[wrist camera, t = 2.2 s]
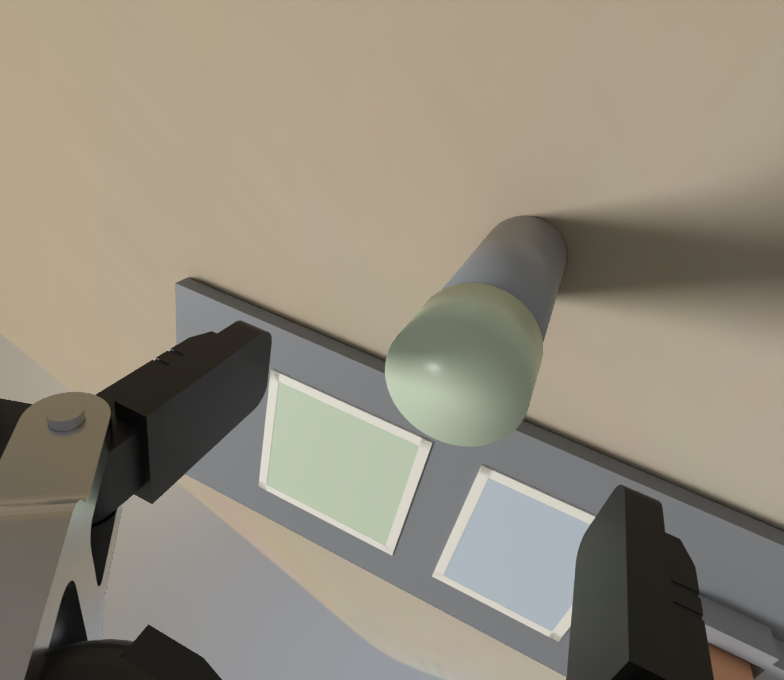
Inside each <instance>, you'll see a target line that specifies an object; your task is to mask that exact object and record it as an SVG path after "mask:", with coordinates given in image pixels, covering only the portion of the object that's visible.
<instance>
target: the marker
mask: <svg viewBox="0 0 784 680" xmlns="http://www.w3.org/2000/svg"><path fill="white" fill-rule="evenodd" d="M566 262H567V250H566V246H565V243H564V240H563V238H562V237H561V235H560V233H559V232H558V231H557V230H556V229H555V228H554V227H553V226H552V225H551V224H549V223H548V222H546V221H544V220H542V219H540V218H536V217H532V216H517V217H513V218H509V219H507V220H505V221H503V222H501V223H500V224H498V225H497V226H496V227H495V228H494V229H493V230H492V231H491V232H490V233H489V234H488V236H487V237H486V238H485V239H484V240H483V242H482V243H481V244H480V245H479V246H478V247H477V249H476V250H475V251H474V252H473V253H472V255H471V256H470V257H469V258H468V259H467V260H466V262H465V263H464V264H463V265H462V266H461V268H460V269H459V270H458V271H457V272H456V274H455V275H454V276H453V277H452V278H451V279H450V281H449V282H448V283H447V284H446V285H445V287H444V288H443V289H442V290H441V291H439V292H438V293H437V294H435V295H434V296H433V297H431V298H430V299H429V300H428V301H427V303H426V304H425V305H424V306H423V307H422V308H421V310H420V311H419V312H418V313H417V314H416V315H415V316H414V318H413V319H412V320H411V321H410V322H409V323H408V325H407V326H406V327H405V328H404V329H403V330H402V331H401V333H400V334H399V335H398V336H397V337H396V339H395V340H394V341H393V343H392V345H391V347H390V349H389V351H388V354H387V357H386V362H385V378H386V384H387V388H388V391H389V393H390V396H391V398H392V400H393V402H394V404H395V405H396V407H397V408H398V410H399V411H400V412H401V414H402V415H403V416H404V417H405V418H406V419H407V420H408V421H409V422H410V423H411V424H412V425H413V426H415V427H416V428H417V429H418V430H420V431H421V432H423V433H424V434H426V435H428V436H430V437H432V438H434V439H436V440H439V441H441V442H444V443H448V444H451V445H456V446H465V447H476V446H484V445H488V444H492V443H495V442H497V441H500V440H502V439H504V438H505V437H507V436H508V435H510V434H511V433H512V432H513V431H514V430H515V429H516V428H517V427H518V426H519V425H520V424H521V422H522V420H523V419H524V417H525V415H526V413H527V410H528V407H529V403H530V400H531V396H532V393H533V389H534V386H535V382H536V379H537V375H538V371H539V368H540V364H541V360H542V356H543V341H544V338H545V334H546V331H547V328H548V324H549V321H550V317H551V314H552V311H553V307H554V304H555V300H556V297H557V294H558V290H559V287H560V283H561V280H562V277H563V273H564V270H565V267H566Z"/></svg>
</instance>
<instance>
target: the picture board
mask: <svg viewBox="0 0 784 680" xmlns="http://www.w3.org/2000/svg"><path fill="white" fill-rule="evenodd" d="M175 285H176V335H177V345H178V344H179V343H181V342H182V341H184V340H186V339H187V338H189V337H193V336H196V335H200V334H204V333H207V332H211V331H213V332H215V333H219V332H220V331H222V330H223V329H225V328H227V327H228V326H230V325H231V324H233V323H234V322H236V321H239V320H241V321H244V322H246V323H249V324H251V325H253V326H256V327H258V328H260V329H263V330H265V331H267V332H269V333H270V334H271V336H272V345H271V355H270V365H269V374H268V383H267V388H266V391H265V394H264V396H263V398H262V400H261V402H260V403H259V405H258V406H257V407H256V408H255V409H254V410H253V411H252V412H251V413H250V414H249V415H248V416H247V417H246V418H245V419H244V420H242V421H241V422H240V423H239V424H238V425H237V426H236V427H235V428H234V429H233V430H232V431H231V432H229V433H228V434H227V435H226V436H225V437H224V438H223V439H222V440H221V441H220V442H219V443H218V444H217V445H215V446H214V447H213V448H212V449H211V450H210V451H209V452H208V453H207V454H206V455H205V456H204V457H202V458H201V459H200V460H199V461H198V462H197V463H196V464H195V465H194V466H193V467H192V468H191V469H190V470H188V471H187V472H186V473H185V474H186V475H188V476H190V477H192V478H194V479H195V480H197V481H199V482H201V483H203V484H205V485H207V486H209V487H210V488H212V489H214V490H216V491H218V492H220V493H222V494H224V495H225V496H227V497H229V498H231V499H233V500H235V501H237V502H239V503H241V504H242V505H244V506H246V507H248V508H250V509H252V510H254V511H256V512H257V513H259V514H261V515H263V516H265V517H267V518H269V519H271V520H272V521H274V522H276V523H278V524H280V525H282V526H284V527H286V528H287V529H289V530H291V531H293V532H295V533H297V534H299V535H301V536H303V537H304V538H306V539H308V540H310V541H312V542H314V543H316V544H318V545H319V546H321V547H323V548H325V549H327V550H329V551H331V552H333V553H334V554H336V555H338V556H340V557H342V558H344V559H346V560H348V561H349V562H351V563H353V564H355V565H357V566H359V567H361V568H363V569H365V570H366V571H368V572H370V573H372V574H374V575H376V576H378V577H380V578H381V579H383V580H385V581H387V582H389V583H391V584H393V585H395V586H396V587H398V588H400V589H402V590H404V591H406V592H408V593H410V594H411V595H413V596H415V597H417V598H419V599H421V600H423V601H425V602H427V603H428V604H430V605H432V606H434V607H436V608H438V609H440V610H442V611H443V612H445V613H447V614H449V615H451V616H453V617H455V618H457V619H458V620H460V621H462V622H464V623H466V624H468V625H470V626H472V627H473V628H475V629H477V630H479V631H481V632H483V633H485V634H487V635H488V636H490V637H492V638H494V639H496V640H498V641H500V642H502V643H504V644H505V645H507V646H509V647H511V648H513V649H515V650H517V651H519V652H520V653H522V654H524V655H526V656H528V657H530V658H532V659H534V660H535V661H537V662H539V663H541V664H543V665H545V666H547V667H549V668H550V669H552V670H554V671H556V672H558V673H560V674H562V675H564V676H566V677H567V665H568V653H569V640H570V628H571V615H572V603H573V590H574V578H575V565H576V557H577V552H578V549H579V546H580V543H581V540H582V538H583V536H584V534H585V532H586V530H587V529H588V527H589V526H590V524H591V523H592V521H593V520H594V518H595V517H596V515H597V514H598V512H599V511H600V510H601V508H602V507H603V505H604V504H605V502H606V501H607V499H608V498H609V496H610V495H611V493H612V492H613V490H614V489H615V488H616V487H617V486H618V485H624V486H626V487H628V488H631V489H633V490H635V491H638V492H640V493H642V494H645V495H647V496H649V497H652V498H654V499H656V500H659V501H660V502H661V504H662V508H663V516H664V525H665V532H666V533H668V534H670V535H673V536H675V537H677V538H679V539H681V541H682V543H683V545H684V547H685V548H686V550H687V552H688V554H689V556H690V558H691V559H692V561H693V563H694V565H695V567H696V573H697V579H698V585H699V591H700V593H699V596H698V597H699V598H701V604H702V610H703V616H702V620H704V622H705V628H706V634H707V640H708V643H709V644H711V645H713V646H715V647H717V648H719V649H721V650H723V651H725V652H727V653H729V654H732V655H734V656H736V657H738V658H740V659H742V660H744V661H746V662H748V663H750V666H751V670H752V675H753V679H754V680H784V531H782V530H779V529H777V528H775V527H772V526H770V525H767V524H765V523H763V522H760V521H758V520H756V519H753V518H751V517H749V516H746V515H744V514H742V513H739V512H737V511H735V510H732V509H730V508H728V507H725V506H723V505H721V504H718V503H716V502H713V501H711V500H709V499H706V498H704V497H702V496H699V495H697V494H695V493H692V492H690V491H688V490H685V489H683V488H681V487H678V486H676V485H674V484H671V483H669V482H667V481H664V480H662V479H659V478H657V477H655V476H652V475H650V474H648V473H645V472H643V471H641V470H638V469H636V468H634V467H631V466H629V465H627V464H624V463H622V462H620V461H617V460H615V459H613V458H610V457H608V456H605V455H603V454H601V453H598V452H596V451H594V450H591V449H589V448H587V447H584V446H582V445H580V444H577V443H575V442H573V441H570V440H568V439H566V438H563V437H561V436H559V435H556V434H554V433H551V432H549V431H547V430H544V429H542V428H540V427H537V426H535V425H533V424H530V423H528V422H526V421H523V420H522V422H521V424H520V425H519V426H518V427H517V428H516V429H515V430H514V431H513V432H512V433H511V434H510V435H508V436H507V437H505V438H504V439H502V440H500V441H497V442H495V443H492V444H488V445H484V446H476V447H465V446H456V445H451V444H448V443H444V442H441V441H439V440H436V439H434V438H432V437H430V436H428V435H426V434H424V433H423V432H421V431H420V430H418V429H417V428H416V427H415V426H413V425H412V424H411V423H410V422H409V421H408V420H407V419H406V418H405V417H404V416H403V415H402V414H401V412H400V411H399V410H398V408H397V407H396V405H395V404H394V402H393V400H392V398H391V396H390V393H389V391H388V388H387V384H386V378H385V361H382V360H380V359H378V358H375V357H373V356H371V355H368V354H366V353H364V352H361V351H359V350H357V349H354V348H352V347H350V346H347V345H345V344H343V343H340V342H338V341H335V340H333V339H331V338H328V337H326V336H324V335H321V334H319V333H317V332H314V331H312V330H310V329H307V328H305V327H303V326H300V325H298V324H296V323H293V322H291V321H289V320H286V319H284V318H281V317H279V316H277V315H274V314H272V313H270V312H267V311H265V310H263V309H260V308H258V307H256V306H253V305H251V304H249V303H246V302H244V301H242V300H239V299H237V298H235V297H232V296H230V295H227V294H225V293H223V292H220V291H218V290H216V289H213V288H211V287H209V286H206V285H204V284H202V283H199V282H197V281H195V280H192V279H190V278H186V279H183V280H181V281H179V282H177V283H175Z"/></svg>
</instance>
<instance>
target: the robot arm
mask: <svg viewBox="0 0 784 680" xmlns="http://www.w3.org/2000/svg"><path fill="white" fill-rule="evenodd" d="M271 345H272V336H271V334H270V333H269V332H267V331H265V330H263V329H260V328H258V327H256V326H253V325H251V324H249V323H246V322H244V321H241V320H239V321H236V322H234V323H233V324H231V325H230V326H228V327H227V328H225V329H223V330H222V331H220V332H219V333H215V332H213V331H211V332H207V333H204V334H200V335H196V336H193V337H189V338H187V339H186V340H184V341H182V342H181V343H179V344H178V345H176V346H174V347H173V348H171V350H170V351H166V352H165V353H163V354H161V355H160V356H158V357H156V360H155V361H153V360H152V361H150V362H148V363H147V364H145V365H143V366H142V367H140V368H139V369H137V370H135V371H134V372H132V373H130V374H129V375H127V376H125V377H124V378H122V379H121V380H119V381H117V382H116V383H114V384H112V385H111V386H109V387H108V388H106V389H104V390H103V391H101V392H99V393H98V394H96V395H93V394H90V393H83V392H67V393H61V394H56V395H52V396H49V397H47V398H44V399H42V400H40V401H38V402H36V403H34V404H28V403H22V402H17V401H11V400H5V399H0V680H222V679H221V678H220V677H219V676H218V675H217V673H216V672H215V671H214V670H213V669H212V667H211V666H210V665H209V664H208V663H207V662H206V661H205V659H204V658H202V657H201V656H199V655H198V654H196V653H195V652H193V651H191V650H189V649H188V648H186V647H185V646H183V645H181V644H179V643H178V642H176V641H175V640H173V639H171V638H170V637H168V636H166V635H165V634H163V633H162V632H160V631H158V630H157V629H155V628H153V627H152V626H150V625H148V626H147V627H146V628H145V629H144V630H143V632H142V633H141V634H140V635H139V636H138V638H137V639H136V640H135V641H134V642H133V641H128V640H116V639H115V640H114V639H106V640H105V639H103V640H102V635H103V620H104V618H103V617H104V616H103V615H104V601H105V594H106V589H107V583H108V579H109V574H110V569H111V564H112V559H113V554H114V549H115V544H116V539H117V533H118V528H119V523H120V518H121V512H122V506H121V505H122V504H123V503H124V502H125V501H126V500H127V499H129V497H131V496H132V495H133V494H134V495H137V496H138V497H140V498H142V499H144V500H146V501H147V502H149V503H151V504H153V503H154V502H155V501H156V500H157V499H158V498H159V497H160V496H161V495H163V493H165V492H166V491H167V490H168V489H169V488H170V487H171V486H172V485H173V484H174V483H175V482H177V481H178V480H179V479H180V478H181V477H182V476H183V475H184V474H185V473H186V472H187V471H188V470H190V469H191V468H192V467H193V466H194V465H195V464H196V463H197V462H198V461H199V460H200V459H201V458H202V457H204V456H205V455H206V454H207V453H208V452H209V451H210V450H211V449H212V448H213V447H214V446H215V445H217V444H218V443H219V442H220V441H221V440H222V439H223V438H224V437H225V436H226V435H227V434H228V433H229V432H231V431H232V430H233V429H234V428H235V427H236V426H237V425H238V424H239V423H240V422H241V421H242V420H244V419H245V418H246V417H247V416H248V415H249V414H250V413H251V412H252V411H253V410H254V409H255V408H256V407H257V406H258V405H259V403H260V402H261V400H262V398H263V396H264V394H265V391H266V388H267V383H268V374H269V365H270V355H271ZM699 593H700V591H699V585H698V579H697V573H696V567H695V565H694V563H693V561H692V559H691V558H690V556H689V554H688V552H687V550H686V548H685V547H684V545H683V543H682V541H681V539H679V538H677V537H675V536H673V535H670V534H668V533H666V532H665V525H664V516H663V508H662V504H661V502H660V501H659V500H656V499H654V498H652V497H649V496H647V495H645V494H642V493H640V492H638V491H635V490H633V489H631V488H628V487H626V486H624V485H618V486H617V487H616V488H615V489H614V490H613V492H612V493H611V495H610V496H609V498H608V499H607V501H606V502H605V504H604V505H603V507H602V508H601V510H600V511H599V512H598V514H597V515H596V517H595V518H594V520H593V521H592V523H591V524H590V526H589V527H588V529H587V530H586V532H585V534H584V536H583V538H582V540H581V543H580V546H579V549H578V552H577V557H576V565H575V578H574V590H573V603H572V615H571V628H570V640H569V653H568V665H567V678H566V680H714V677H713V670H712V664H711V658H710V652H709V646H708V640H707V634H706V628H705V622H704V620H702V616H703V610H702V604H701V598H699V597H698V596H699Z"/></svg>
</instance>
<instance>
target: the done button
mask: <svg viewBox="0 0 784 680" xmlns="http://www.w3.org/2000/svg"><path fill="white" fill-rule="evenodd" d="M708 646H709V652H710V658H711V664H712V670H713V677H714V680H754V679H753V675H752V670H751V666H750V663H748V662H746V661H744V660H742V659H740V658H738V657H736V656H734V655H732V654H729V653H727V652H725V651H723V650H721V649H719V648H717V647H715V646H713V645H711V644H709V643H708Z"/></svg>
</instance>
